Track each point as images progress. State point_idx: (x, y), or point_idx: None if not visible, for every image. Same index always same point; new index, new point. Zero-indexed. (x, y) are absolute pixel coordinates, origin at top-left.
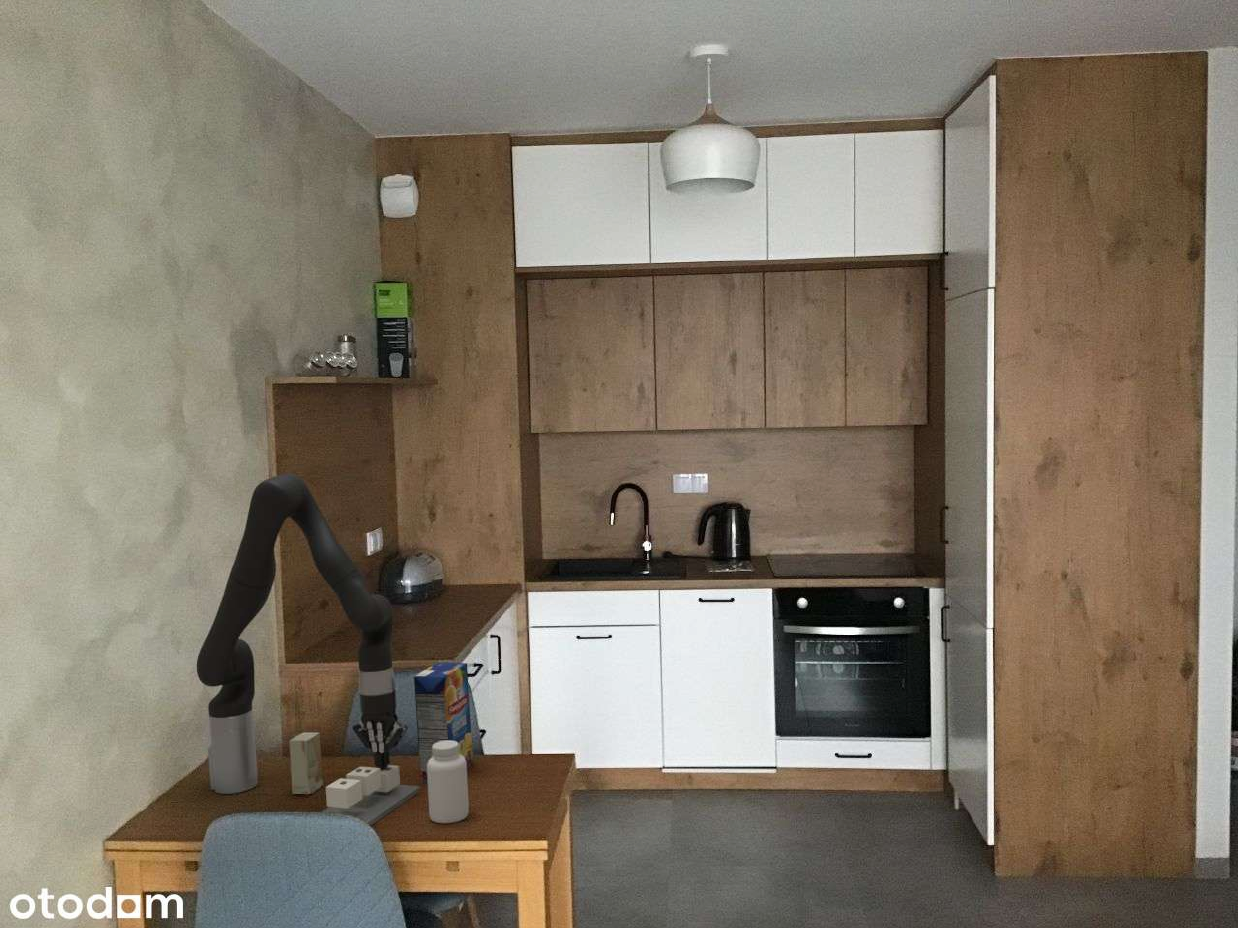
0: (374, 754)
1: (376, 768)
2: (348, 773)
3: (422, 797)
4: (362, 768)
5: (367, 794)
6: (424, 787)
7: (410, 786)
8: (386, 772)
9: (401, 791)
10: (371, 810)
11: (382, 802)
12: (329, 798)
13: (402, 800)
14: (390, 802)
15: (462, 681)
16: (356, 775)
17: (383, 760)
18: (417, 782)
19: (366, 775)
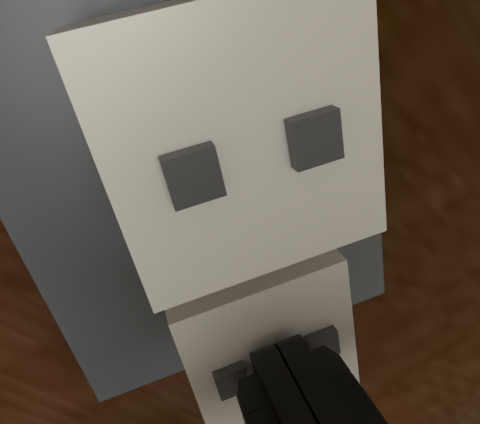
0: (380, 420)
1: (186, 287)
2: (374, 12)
3: (7, 351)
4: (326, 208)
5: (68, 24)
6: (121, 413)
7: (149, 375)
8: (192, 341)
9: (134, 317)
10: (21, 5)
11: (88, 155)
12: None
13: (25, 255)
14: (35, 182)
15: None
16: (228, 5)
17: (270, 415)
18: (202, 418)
19: (90, 69)
